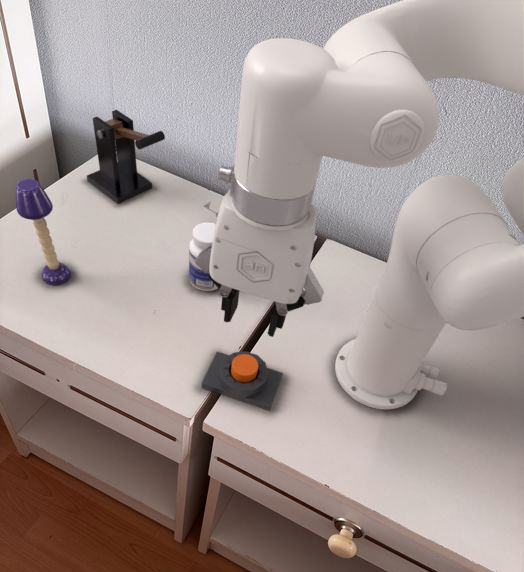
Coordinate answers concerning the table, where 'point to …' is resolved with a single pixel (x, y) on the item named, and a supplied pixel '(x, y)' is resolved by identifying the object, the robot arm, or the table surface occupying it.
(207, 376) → the button box
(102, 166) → the bracket
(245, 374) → the button
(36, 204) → the toy lamp
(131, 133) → the lever
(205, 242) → the pill bottle
